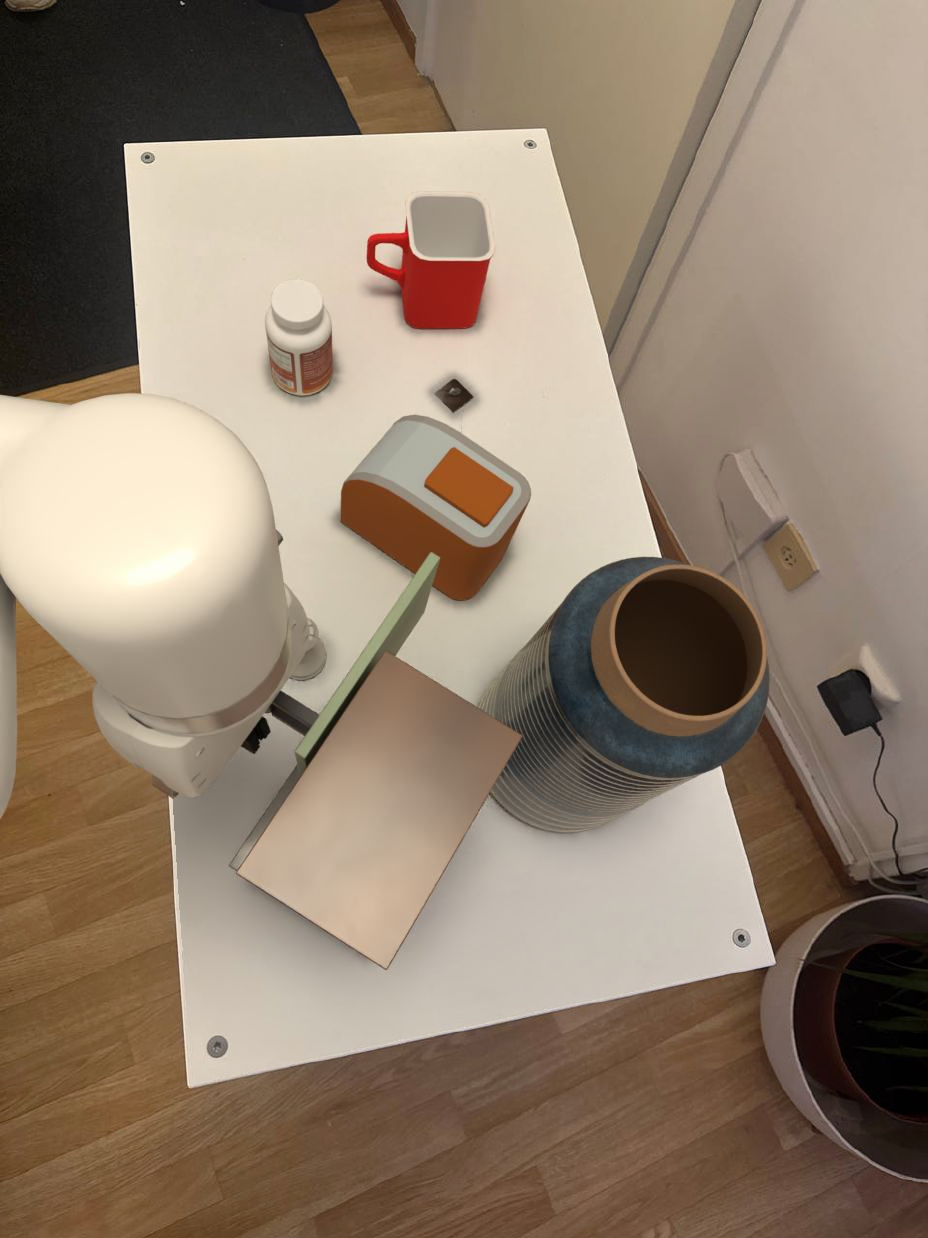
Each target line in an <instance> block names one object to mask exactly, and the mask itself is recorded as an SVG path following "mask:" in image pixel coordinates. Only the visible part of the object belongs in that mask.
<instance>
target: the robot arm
mask: <svg viewBox="0 0 928 1238" xmlns="http://www.w3.org/2000/svg"><path fill="white" fill-rule="evenodd" d="M283 541H284V537H283V535H282V534H281V532H280V531H278V529H277V526H276V521H275V515H274V507H273V504H272V499H271V496H270V492H269V488H268V484H267V482H266V479H265V476H264V474H263V471H262V470H261V467H260V466H259V464H258V462H257V460H256V458H255V456H254V455H253V454H252V453H251V451H250V450H249V449H248V447H247V446H246V445H245V443H244V442H243V441H242V440H241V439H240V437H238V435H237V434H236V433H235V432H234V431H233V430H232V429H230V428H229V427H228V426H226V425H225V424H224V423H223V422H221V421H220V420H218V418H216V417H214V416H213V415H212V414H210V413H208V412H206V411H204V410H202V409H201V408H199V407H197V406H196V405H194V404H190V403H187V402H185V401H182V400H179V399H177V398H174V397H168V396H164V395H158V394H154V393H137V392H136V393H135V392H125V393H115V394H106V395H101V396H98V397H93V398H89V399H85V400H82V401H81V400H80V401H79V402H76V403H73V404H68V403H61V402H54V401H46V400H41V399H40V400H39V399H34V398H33V399H32V398H25V397H18V396H11V395H3V394H0V820H1V819H2V817H3V816H4V814H5V812H6V811H7V808H8V805H9V802H10V800H11V796H12V794H13V789H14V784H15V780H16V779H15V778H16V774H17V755H18V753H17V752H18V673H17V672H18V671H17V668H18V667H17V666H18V665H17V664H18V663H17V601H18V602H19V603H20V605H21V606H22V607H23V609H24V610H25V611H26V612H27V613H28V614H29V615H30V617H32V618H33V619H34V620H35V621H36V623H38V624H39V625H40V626H41V627H42V628H43V630H45V632H46V633H48V634H49V635H50V636H51V637H52V638H53V639H54V640H55V641H56V642H57V643H58V644H59V645H60V646H61V647H62V648H63V649H64V650H65V651H66V652H67V653H68V654H69V655H70V656H71V657H72V658H73V659H74V660H75V661H76V662H77V663H78V665H80V666H81V667H82V668H83V669H84V670H85V671H86V672H87V673H89V675H90V676H91V677H92V678H93V679H94V680H95V682H96V683H95V684H94V686H93V689H92V696H91V697H92V709H93V715H94V718H95V721H96V725H97V726H98V728H99V730H100V732H101V734H102V735H103V737H104V739H105V740H106V741H107V743H108V744H109V745H110V746H111V748H112V749H113V750H114V751H115V752H116V753H117V754H118V755H119V756H121V757H122V758H123V759H124V760H126V761H127V762H128V763H129V764H131V765H132V766H134V767H135V768H136V769H138V770H140V769H143V770H144V771H146V772H148V773H150V774H151V782H152V786H153V787H154V788H156V789H157V790H159V791H160V792H162V793H163V794H165V795H166V796H168V797H170V798H171V799H172V800H174V799H175V798H176V797H178V795H181V796H183V797H186V798H194V797H198V796H202V795H203V794H205V793H206V792H207V791H208V790H209V789H210V788H211V786H212V785H213V784H214V783H215V782H216V780H217V779H218V778H219V776H220V775H221V774H222V772H223V771H224V769H226V767H227V766H228V764H230V762H231V760H232V759H233V758H234V756H235V755H236V753H237V752H238V751H239V749H240V748H243V749H244V750H246V751H247V752H249V753H250V754H252V755H256V753H258V751H259V749H260V748H261V746H260V744H261V742H262V741H263V739H264V740H266V739H267V738H268V736H269V735H270V734H271V732H272V731H271V729H270V726H269V723H268V720H267V718H266V717H264V715H265V712H266V710H267V709H268V707H269V706H270V705H271V703H272V702H273V700H274V699H275V697H276V696H277V695H278V693H279V692H280V690H281V691H282V689H283V687H284V686H285V685H286V683H288V681H289V679H290V678H291V677H290V676H291V675H292V673H293V672H294V670H295V669H296V667H297V666H298V664H299V663H300V661H301V660H302V658H303V656H304V655H305V653H306V651H307V649H308V646H309V641H310V629H309V623H308V619H307V618H308V616H307V613H306V611H305V609H304V608H305V607H304V606H303V605H302V602H301V601H300V600H299V599H298V597H297V596H296V595H295V593H294V592H293V590H292V589H291V588H290V587H289V586H288V584H287V583H286V582H285V579H284V573H283V567H282V560H281V554H280V553H281V552H280V548H279V546H280V545H281V544H282V543H283ZM260 741H261V742H260Z"/></svg>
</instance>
